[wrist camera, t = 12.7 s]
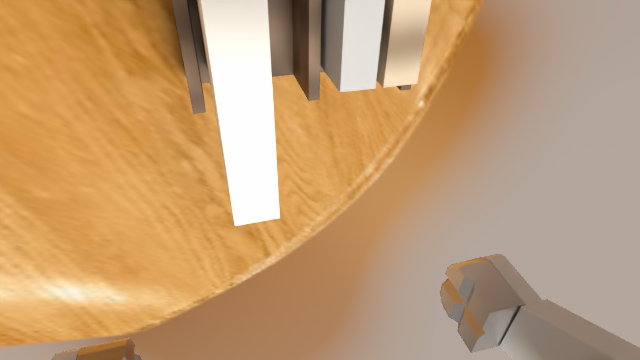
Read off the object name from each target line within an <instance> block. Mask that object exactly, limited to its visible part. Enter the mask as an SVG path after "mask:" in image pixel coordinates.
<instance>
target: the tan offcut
mask: <svg viewBox="0 0 640 360" xmlns="http://www.w3.org/2000/svg"><path fill="white" fill-rule="evenodd" d="M430 6H431V0H385V6H384V15H383V24H382V33H381V42H380V51H379V60H378V69H377V78H376V80H377V81H378V82H379V83H380V84H381V86H382V87H392V86H402V85H411V84H417V80H418V74H419V68H420V63H421V57H422V51H423V46H424V40H425V34H426V29H427V23H428V17H429V12H430Z"/></svg>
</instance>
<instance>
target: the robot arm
mask: <svg viewBox="0 0 640 360" xmlns="http://www.w3.org/2000/svg"><path fill="white" fill-rule="evenodd" d="M445 274H446V275H447V276H448V279H447V280H446V281H445V282H444V283H443V284H442V286H441V290H440V296H441V302H442V304H443V307H444V309H445V311H446V313H447V315H448V316H449V317H450V318H451V319H453V320H455V321H456V322H458V333H459V334H460V336H461V338H462V339H463V341H464V342H465V344H466V345H467V347H468V349H469V350H470V352H471V353H473V352H477V351H481V350H485V349H489V348H493V347H497V346H499V348H500V349H501V350H503V351H504V352H505V353H507V354H508V355H509V356H510V357H512V358H513V359H514V360H640V348H639V347H637V346H635V345H633V344H631V343H629V342H627V341H625V340H624V339H622V338H620V337H618V336H616V335H614V334H612V333H610V332H608V331H606V330H605V329H603V328H601V327H599V326H597V325H595V324H593V323H591V322H589V321H587V320H585V319H584V318H582V317H580V316H578V315H576V314H574V313H572V312H570V311H568V310H566V309H564V308H562V307H560V306H559V305H556V304H555V303H553V302H551V301H549V300H542V299H541V298H540V297H539V296H538V295H537V293H536V292H535V291H534V290H533V289H532V288H531V286H530V285H529V284H528V283H527V282H526V281H525V280H524V278H523V277H522V276H521V275H520V274H519V272H517V270H516V269H515V268H514V267H513V265H512V264H511V263H510V262H509V261H508V260H507V258H506V257H505V256H503V255H501V254H495V255H490V256H486V257H482V258H481V257H480V258H476V259H472V260H468V261H464V262H460V263H456V264H452V265H450V266H449V267H448V268H447V271H446V273H445ZM52 360H142V359H141V357H140V355H137V354H135V344H134V342H133V341H132V339H131V338H126V339H121V340H117V341H112V342H108V343H103V344H99V345H94V346H89V347H85V348H79V349H74V350H70V351H66V352H61V353H57V354H55V355H54V357H53V359H52Z"/></svg>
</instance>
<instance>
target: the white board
mask: <svg viewBox="0 0 640 360" xmlns="http://www.w3.org/2000/svg"><path fill="white" fill-rule="evenodd" d="M197 3H198V10H199V16H200V23H201V29H202V35H203V42H204V48H205V55H206V61H207V67H208V73H209V79H210V85H211V91H212V96H213V102H214V108H215V114H216V120H217V125H218V131H219V137H220V143H221V149H222V155H223V160H224V166H225V172H226V178H227V184H228V189H229V195H230V201H231V207H232V213H233V218H234V224H235V226H238V225H243V224H249V223H254V222H260V221H266V220H271V219H277V218H280V214H279V196H278V179H277V161H276V143H275V126H274V108H273V90H272V72H271V55H270V37H269V19H268V2H267V0H197Z"/></svg>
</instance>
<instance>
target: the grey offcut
mask: <svg viewBox="0 0 640 360" xmlns="http://www.w3.org/2000/svg"><path fill="white" fill-rule="evenodd" d="M384 6H385V0H322V3H321V52H320V66H321V67H322V68H323V70H324V71H325V72H326V74H327V75H328V76H329V78H330V79H331V81H332V82H333V83H334V85H335V86H336V87H337V89H338V90H339V91H340V92H346V91H356V90H365V89H374V88H375V87H376V78H377V69H378V60H379V51H380V42H381V33H382V24H383V15H384Z"/></svg>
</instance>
